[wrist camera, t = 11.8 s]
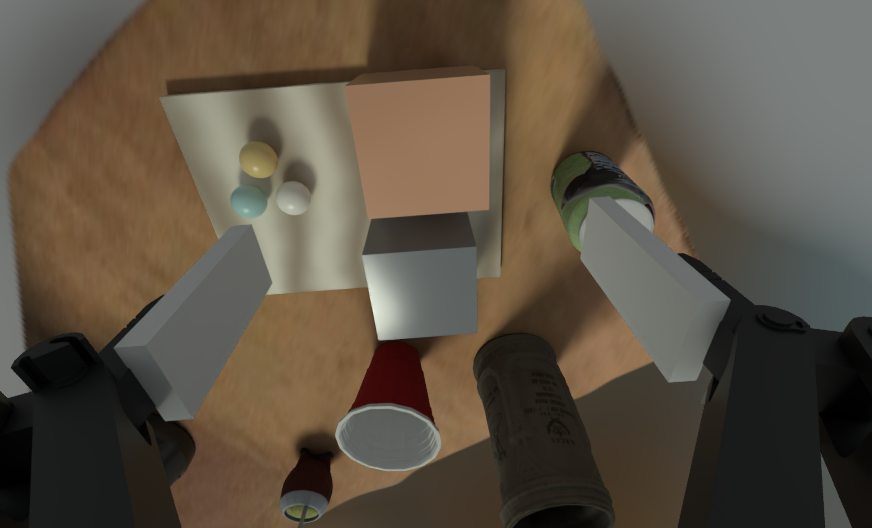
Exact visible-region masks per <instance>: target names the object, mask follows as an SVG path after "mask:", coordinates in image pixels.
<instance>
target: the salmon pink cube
mask: <svg viewBox="0 0 872 528" xmlns="http://www.w3.org/2000/svg"><path fill="white" fill-rule="evenodd" d="M344 87H345V92H346V98H347V104H348V109H349V115H350V120H351V126H352V132H353V137H354V143H355V149H356V154H357V160H358V166H359V171H360V177H361V182H362V188H363V194H364V199H365V205H366V211H367V216H368V219H377V218H390V217H403V216H416V215H429V214H442V213H455V212H468V211H481V210H489V168H490V74H488V73H487V72H485V71H483V70H482V69H480V68H478V67H477V66H475V65H468V66H456V67H443V68H430V69H417V70H405V71H392V72H379V73H366V74H361V75H359V76H358V77H356V78H355V79H354V80H352V81H351V82H349V83H348V84H346V85H345V86H344Z"/></svg>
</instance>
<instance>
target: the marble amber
mask: <svg viewBox="0 0 872 528" xmlns="http://www.w3.org/2000/svg"><path fill="white" fill-rule="evenodd" d="M239 162H240V165H241V167H242V169H243V170H244V171H245V172H246V173H247V174H249V175H250V176H252V177H255V178H266V177H269V176H270V175H272V174H273V173H274V172H275V171H276V169H277V166H278V157H277V154H276V152H275V151H274V150H273V148H272V147H270V146H269V145H268V144H266V143H263V142H259V141H253V142H249V143H247V144H246V145H244V146H243V147H242V149H241V150H240V153H239Z"/></svg>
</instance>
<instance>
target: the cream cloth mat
mask: <svg viewBox="0 0 872 528" xmlns="http://www.w3.org/2000/svg"><path fill="white" fill-rule="evenodd" d="M483 71H485V72H487V73H488V74H490V168H489V210H481V211H468V212H467V213H468V217H469V220H470V224H471V228H472V232H473V236H474V239H475V243H476V253H477V279H479V278H492V277H500V260H501V223H502V186H503V149H504V112H505V75H506V70H505V69H493V70H483ZM349 82H351V81H340V82H328V83H315V84H302V85H289V86H277V87H264V88H251V89H238V90H226V91H213V92H200V93H187V94H175V95H166V96H162V97H159V99H160V101H161V103H162V106H163V108H164V110H165V113H166V115H167V118H168V120H169V122H170V125H171V127H172V130H173V132H174V134H175V137H176V139H177V141H178V144H179V146H180V149H181V151H182V153H183V156H184V158H185V161H186V163H187V165H188V168H189V170H190V172H191V175H192V177H193V180H194V182H195V184H196V187H197V189H198V191H199V194H200V196H201V199H202V201H203V203H204V206H205V208H206V211H207V213H208V215H209V218H210V220H211V222H212V225H213V227H214V230H215V232H216V234H217V237H218V239H220V238H221V237H222V236H223V235H224V234H225V233H226V232H227V230H228V229H229V228H230V227H231V226H237V225H249V224H252V227H253V229H254V232H255V235H256V238H257V241H258V243H259V246H260V249H261V252H262V255H263V257H264V260H265V263H266V266H267V268H268V271H269V274H270V277H271V280H272V282H273V283H272V285H271V287H270V288H269V290H268V292H267V293H266V295H269V294H282V293H295V292H308V291H321V290H335V289H348V288H361V287H368V284H367V279H366V274H365V269H364V264H363V259H362V253H363V249H364V245H365V241H366V237H367V234H368V230H369V226H370V222H371V219H368V216H367V211H366V205H365V199H364V194H363V188H362V182H361V177H360V171H359V166H358V160H357V154H356V149H355V143H354V137H353V132H352V126H351V120H350V115H349V109H348V104H347V98H346V92H345V87H344V86H345V85H346V84H348V83H349ZM253 141H259V142H263V143H266V144H268V145H269V146H270V147H272V148H273V150H274V151H275V152H276V154H277V157H278V166H277V169H276V171H275V172H274V173H273V174H272V175H270V176H269V177H266V178H255V177H252V176H250V175H249V174H247V173H246V172H245V171H244V170H243V169H242V167H241V165H240V162H239V153H240V150H241V149H242V147H243V146H244V145H246V144H247V143H249V142H253ZM288 181H296V182H300V183H302V184H303V185H305V186H306V187H307V188H308V190H309V191H310V194H311V205H310V207H309V208H308V209H307V211H305V212H304V213H302V214H299V215H290V214H287V213H285V212H283V211H282V210H281V209H280V208H279V207H278V205H277V202H276V192H277V190H278V188H279V187H280V186H281V185H282V184H283V183H285V182H288ZM242 185H254V186H256V187H258V188H260V189H261V190H262V191H263V192H264V193H265V195H266V197H267V201H268V205H267V208H266V210H265V212H264V213H263V214H262V215H261V216H259V217H257V218H252V219H249V218H244V217H241V216H239V215H238V214H237V213H236V212H235V211H234V210H233V209H232V207H231V203H230V197H231V194H232V192H233V191H234V190H235V189H236V188H237V187H239V186H242Z"/></svg>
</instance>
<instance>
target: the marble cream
mask: <svg viewBox="0 0 872 528" xmlns="http://www.w3.org/2000/svg"><path fill="white" fill-rule="evenodd" d="M276 202H277V205H278V207H279V208H280V209H281V210H282V211H283V212H285V213H287V214H290V215H299V214H302V213H304V212H305V211H307V209H308V208H309V207H310V205H311V194H310V191H309V190H308V188H307V187H306V186H305V185H303V184H302V183H300V182H296V181H288V182H285V183H283V184H282V185H281V186H280V187H279V188H278V190H277V192H276Z"/></svg>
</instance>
